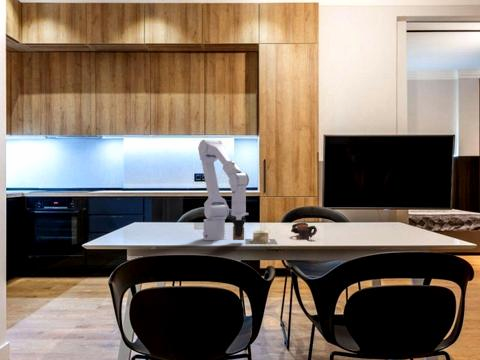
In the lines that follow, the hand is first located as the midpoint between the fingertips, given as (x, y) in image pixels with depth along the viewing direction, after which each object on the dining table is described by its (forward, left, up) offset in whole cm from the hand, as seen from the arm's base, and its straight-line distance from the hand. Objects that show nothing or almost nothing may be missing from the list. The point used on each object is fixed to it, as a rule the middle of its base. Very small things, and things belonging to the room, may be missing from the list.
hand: (238, 235), depth 170 cm
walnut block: (0, 0, -2) cm, 2 cm away
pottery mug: (+30, +16, -4) cm, 34 cm away
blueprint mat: (+10, +5, -4) cm, 11 cm away
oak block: (+10, +6, -3) cm, 12 cm away
